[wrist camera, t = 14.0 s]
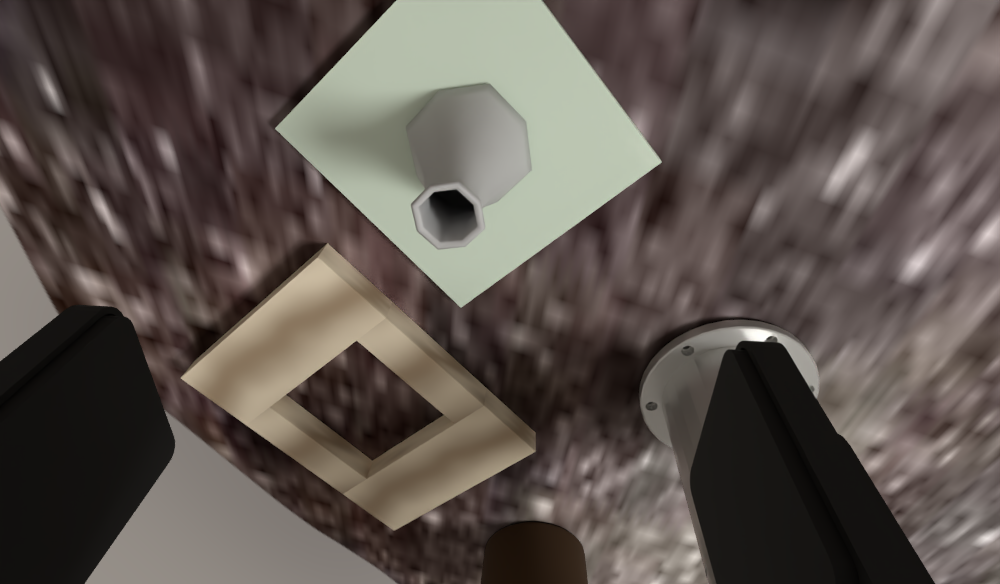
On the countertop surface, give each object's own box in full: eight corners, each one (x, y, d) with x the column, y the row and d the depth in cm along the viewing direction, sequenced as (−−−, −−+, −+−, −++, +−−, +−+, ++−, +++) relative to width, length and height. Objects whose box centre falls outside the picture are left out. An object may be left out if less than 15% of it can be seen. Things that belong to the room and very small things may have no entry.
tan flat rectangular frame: (535, 432, 47) (535, 451, 45) (398, 511, 53) (394, 530, 51) (327, 243, 39) (317, 257, 37) (194, 361, 45) (180, 378, 43)
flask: (497, 59, 31) (482, 104, 23) (552, 175, 35) (557, 253, 26) (384, 118, 33) (332, 180, 25) (446, 222, 37) (419, 309, 28)
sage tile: (658, 156, 35) (661, 162, 34) (462, 299, 41) (460, 307, 40) (479, -85, 29) (477, -86, 28) (281, 124, 35) (274, 128, 34)
